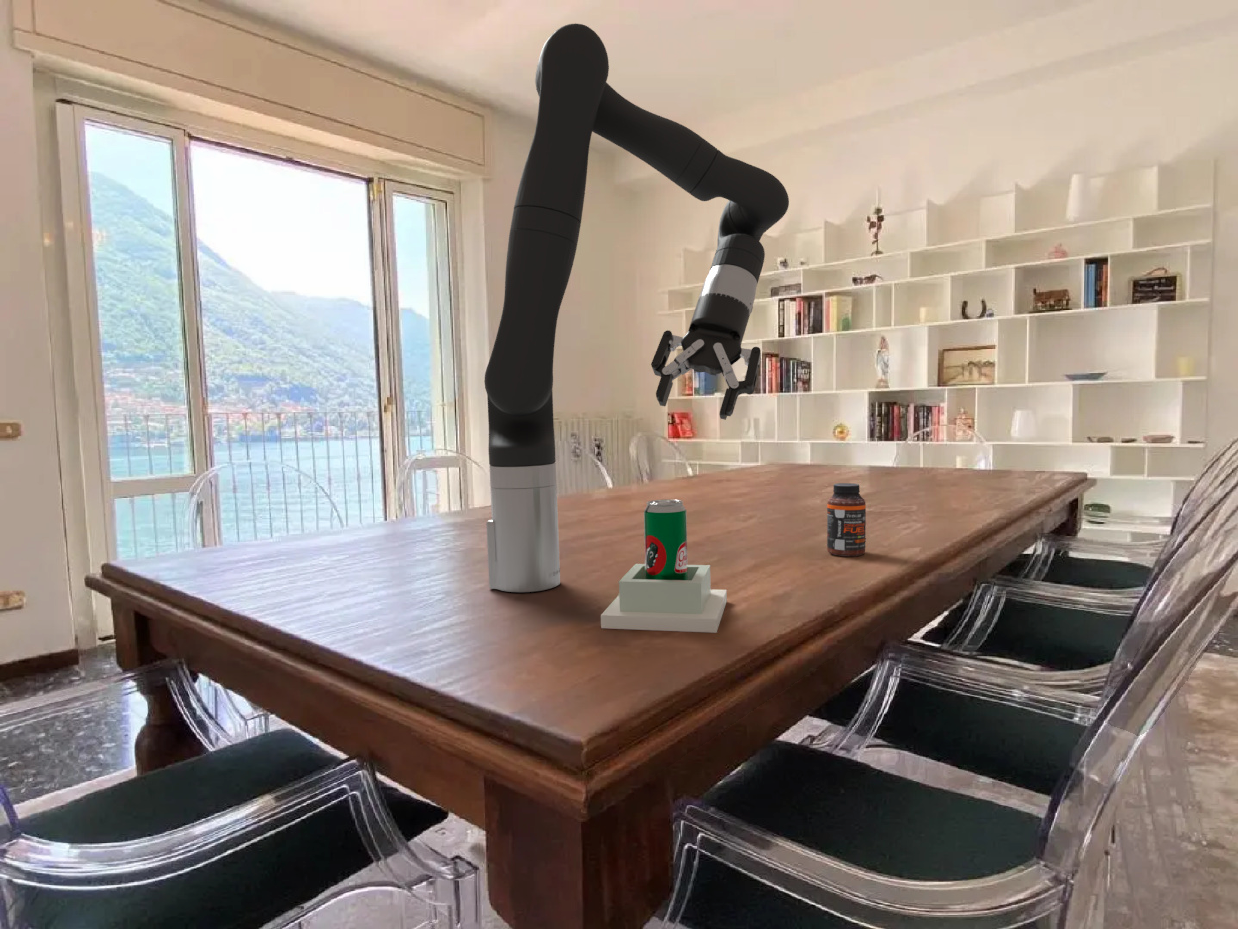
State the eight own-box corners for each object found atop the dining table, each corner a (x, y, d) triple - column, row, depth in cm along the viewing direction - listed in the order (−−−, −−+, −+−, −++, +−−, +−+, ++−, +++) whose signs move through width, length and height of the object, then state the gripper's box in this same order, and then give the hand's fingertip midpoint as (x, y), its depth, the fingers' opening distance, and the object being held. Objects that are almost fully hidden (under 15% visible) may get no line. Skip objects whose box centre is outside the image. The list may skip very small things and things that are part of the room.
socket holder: (601, 628, 85) (599, 584, 85) (626, 598, 98) (624, 560, 97) (716, 632, 82) (715, 587, 82) (726, 601, 95) (726, 562, 94)
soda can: (686, 607, 87) (683, 504, 86) (642, 606, 88) (640, 504, 87) (690, 596, 92) (688, 498, 91) (649, 595, 93) (646, 499, 92)
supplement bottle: (846, 559, 117) (845, 487, 116) (819, 553, 123) (818, 484, 122) (873, 554, 120) (873, 484, 119) (846, 548, 125) (846, 481, 124)
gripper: (671, 283, 104) (636, 388, 99) (774, 300, 99) (742, 410, 95) (679, 311, 110) (646, 410, 106) (775, 328, 106) (745, 432, 102)
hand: (691, 410), depth 101 cm, fingers open, 8 cm apart
